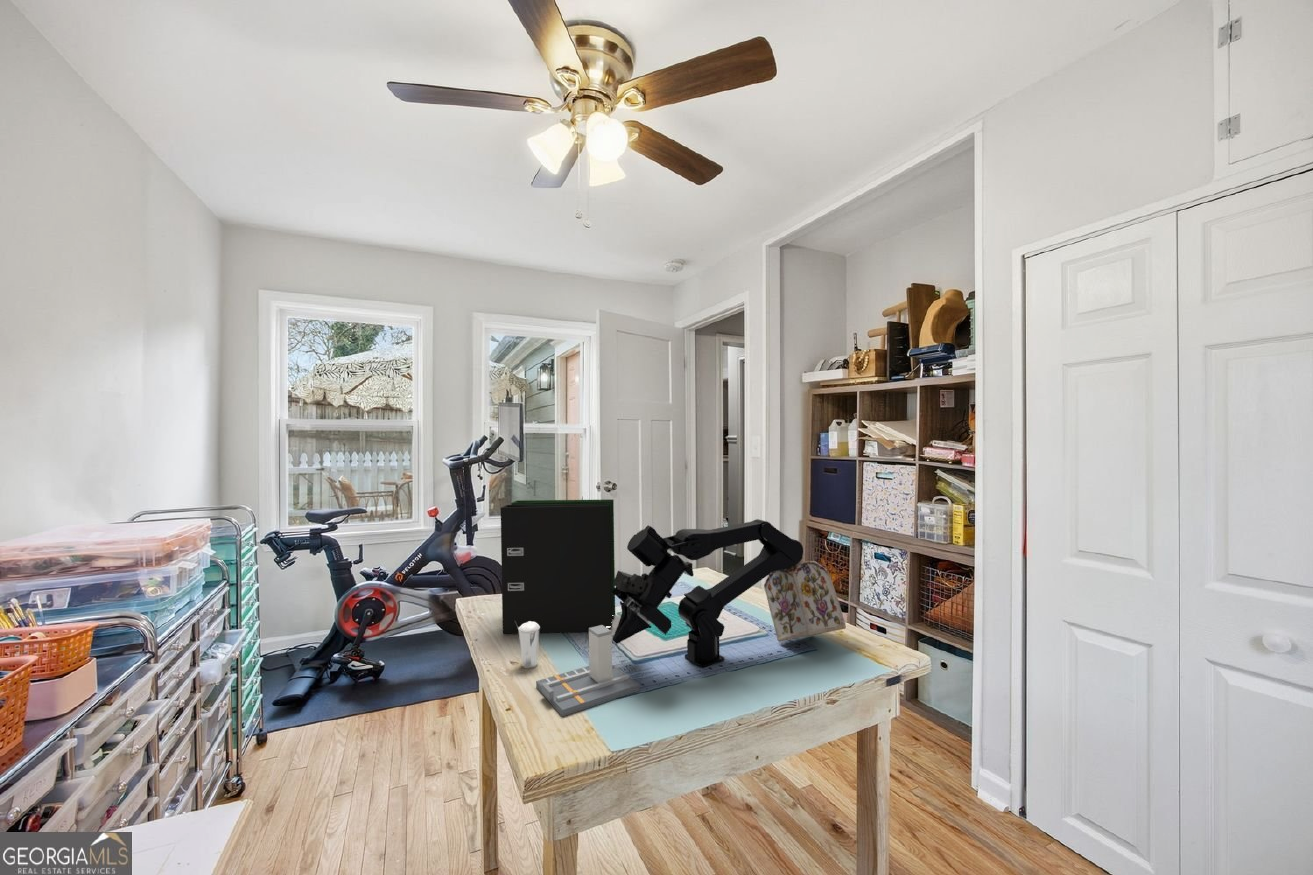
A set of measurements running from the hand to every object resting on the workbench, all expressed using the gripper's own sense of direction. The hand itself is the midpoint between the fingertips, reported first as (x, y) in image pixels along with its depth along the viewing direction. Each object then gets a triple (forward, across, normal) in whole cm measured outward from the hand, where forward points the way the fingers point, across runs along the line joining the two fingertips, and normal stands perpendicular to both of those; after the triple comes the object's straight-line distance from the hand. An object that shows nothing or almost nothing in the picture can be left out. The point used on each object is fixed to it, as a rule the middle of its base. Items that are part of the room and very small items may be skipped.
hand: (614, 641), depth 104 cm
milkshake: (+16, -15, -5) cm, 22 cm away
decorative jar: (-28, +7, +37) cm, 47 cm away
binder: (+7, -35, +4) cm, 36 cm away
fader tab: (+7, +1, +2) cm, 7 cm away
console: (+10, +1, +1) cm, 10 cm away
